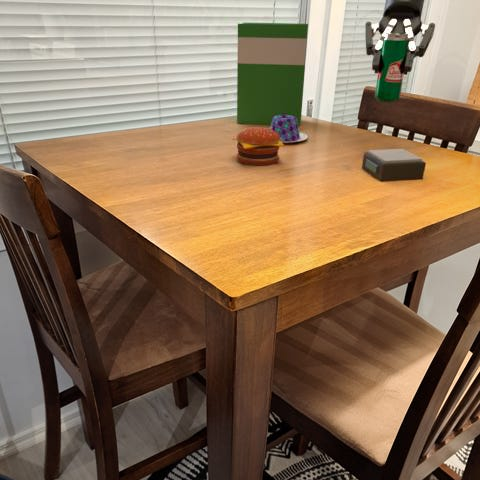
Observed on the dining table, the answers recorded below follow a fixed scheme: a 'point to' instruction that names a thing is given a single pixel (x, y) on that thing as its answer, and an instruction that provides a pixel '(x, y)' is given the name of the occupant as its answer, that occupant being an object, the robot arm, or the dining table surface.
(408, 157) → the scale
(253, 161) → the hamburger
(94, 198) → the dining table surface
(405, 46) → the soda can
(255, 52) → the hardback book
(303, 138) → the pudding
